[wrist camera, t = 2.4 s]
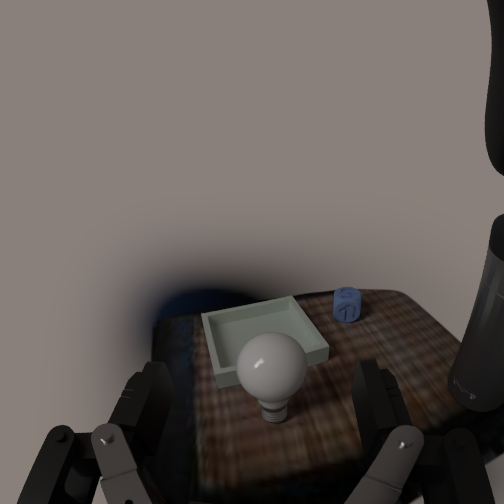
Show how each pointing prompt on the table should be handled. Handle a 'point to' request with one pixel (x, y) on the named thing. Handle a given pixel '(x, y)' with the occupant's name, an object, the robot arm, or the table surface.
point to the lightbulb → (272, 371)
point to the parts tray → (254, 323)
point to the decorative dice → (347, 304)
